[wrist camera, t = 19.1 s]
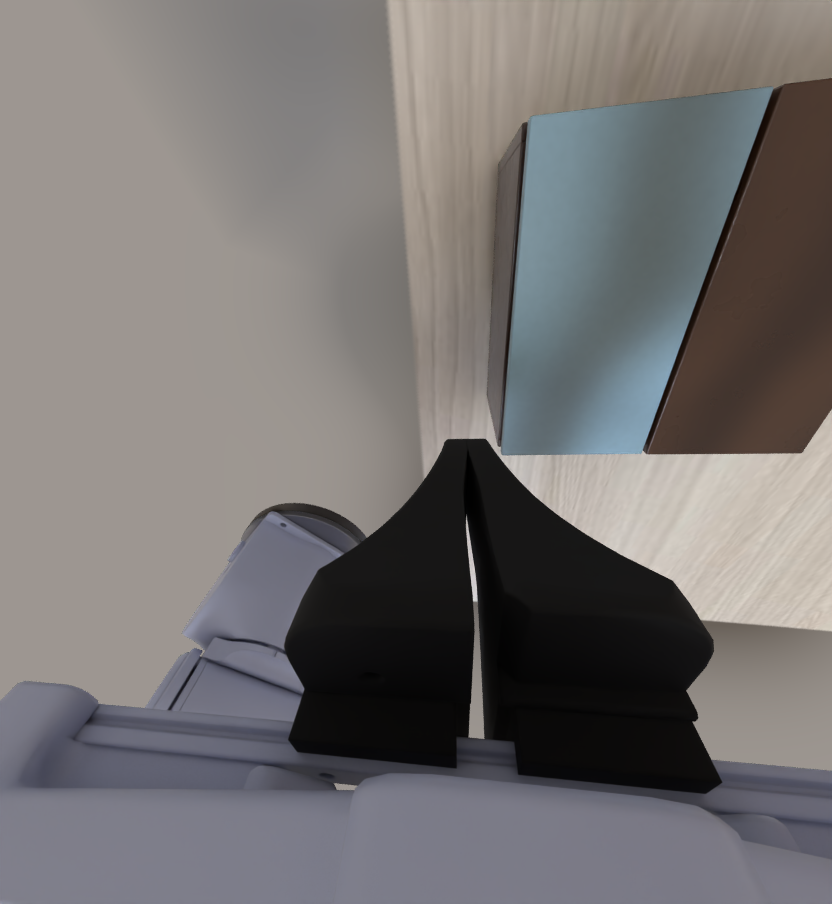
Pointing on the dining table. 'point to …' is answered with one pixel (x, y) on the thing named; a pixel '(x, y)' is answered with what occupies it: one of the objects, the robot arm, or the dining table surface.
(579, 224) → the door
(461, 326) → the dining table surface
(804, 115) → the box
